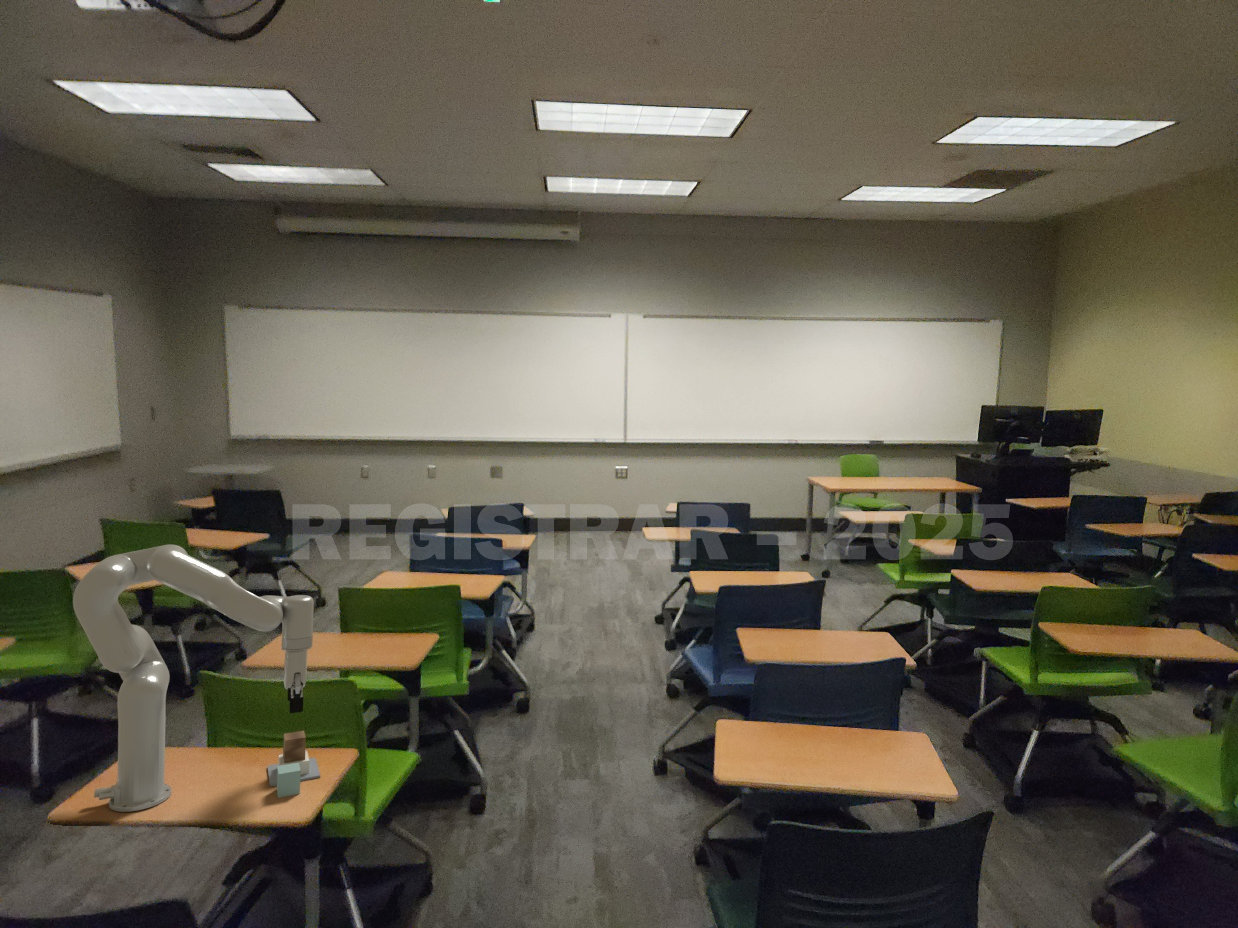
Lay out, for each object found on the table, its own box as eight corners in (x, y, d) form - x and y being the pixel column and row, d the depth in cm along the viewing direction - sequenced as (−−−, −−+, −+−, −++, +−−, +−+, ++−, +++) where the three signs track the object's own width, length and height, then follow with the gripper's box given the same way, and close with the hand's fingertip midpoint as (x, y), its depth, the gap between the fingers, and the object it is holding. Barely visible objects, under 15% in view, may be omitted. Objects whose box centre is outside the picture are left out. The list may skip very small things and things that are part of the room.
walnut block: (284, 763, 183) (285, 740, 183) (283, 755, 187) (283, 733, 187) (305, 759, 185) (305, 737, 185) (303, 752, 189) (303, 730, 189)
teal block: (277, 797, 173) (278, 773, 172) (276, 789, 177) (277, 765, 177) (299, 793, 175) (300, 770, 175) (298, 785, 179) (298, 762, 179)
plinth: (269, 786, 178) (270, 771, 178) (267, 767, 188) (267, 752, 188) (320, 777, 184) (320, 762, 184) (315, 759, 194) (315, 745, 194)
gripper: (280, 635, 191) (278, 697, 192) (283, 652, 176) (280, 719, 176) (309, 633, 195) (307, 693, 195) (315, 649, 180) (312, 715, 180)
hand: (295, 705), depth 186 cm, fingers open, 9 cm apart
